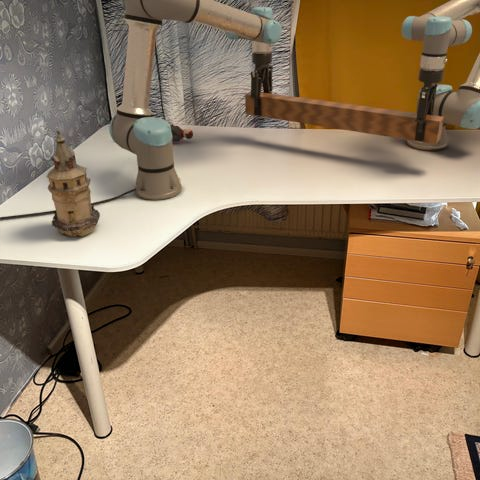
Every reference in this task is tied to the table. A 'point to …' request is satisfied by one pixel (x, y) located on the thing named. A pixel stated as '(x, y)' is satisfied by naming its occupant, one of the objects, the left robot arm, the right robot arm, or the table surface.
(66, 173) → the miniature building
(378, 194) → the table surface
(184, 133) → the toy
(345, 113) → the beam
